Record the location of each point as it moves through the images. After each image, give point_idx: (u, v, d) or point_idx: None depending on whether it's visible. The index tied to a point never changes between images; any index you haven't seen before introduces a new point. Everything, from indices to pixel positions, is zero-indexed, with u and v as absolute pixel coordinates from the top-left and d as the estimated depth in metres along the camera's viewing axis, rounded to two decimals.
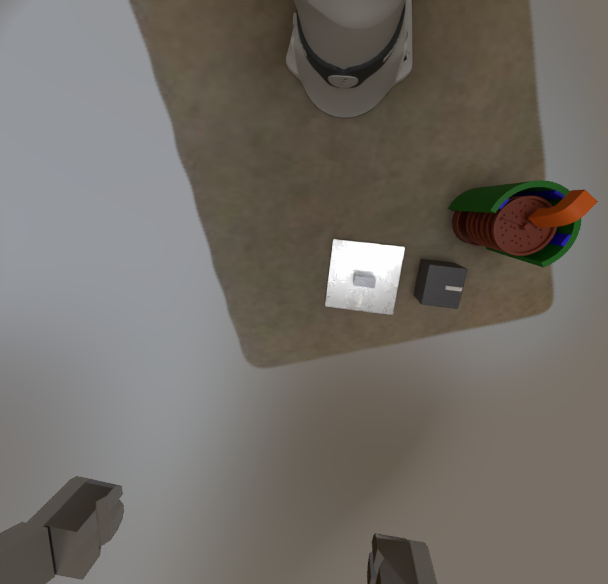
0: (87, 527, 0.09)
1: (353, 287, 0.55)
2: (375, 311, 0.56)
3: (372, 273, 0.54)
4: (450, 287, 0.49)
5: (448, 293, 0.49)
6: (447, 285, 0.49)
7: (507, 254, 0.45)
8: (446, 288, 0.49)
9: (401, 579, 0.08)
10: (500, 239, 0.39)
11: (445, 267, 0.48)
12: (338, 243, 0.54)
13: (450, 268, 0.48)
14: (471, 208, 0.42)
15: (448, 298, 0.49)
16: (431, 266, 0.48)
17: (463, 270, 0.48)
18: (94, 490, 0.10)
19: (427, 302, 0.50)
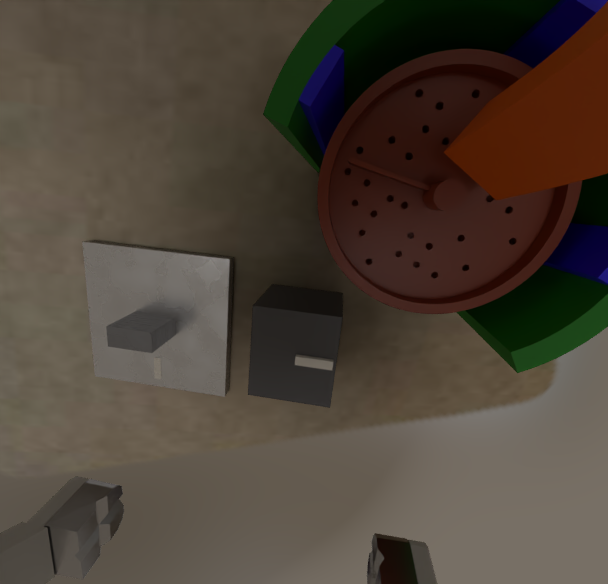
0: (87, 527, 0.09)
1: None
2: (191, 389, 0.27)
3: (172, 314, 0.26)
4: (305, 360, 0.20)
5: (304, 372, 0.20)
6: (299, 355, 0.20)
7: None
8: (296, 362, 0.20)
9: (401, 579, 0.08)
10: (358, 249, 0.10)
11: (290, 312, 0.20)
12: (94, 250, 0.25)
13: (302, 315, 0.19)
14: None
15: (306, 383, 0.21)
16: (257, 309, 0.20)
17: (333, 320, 0.19)
18: (94, 490, 0.10)
19: (259, 391, 0.21)
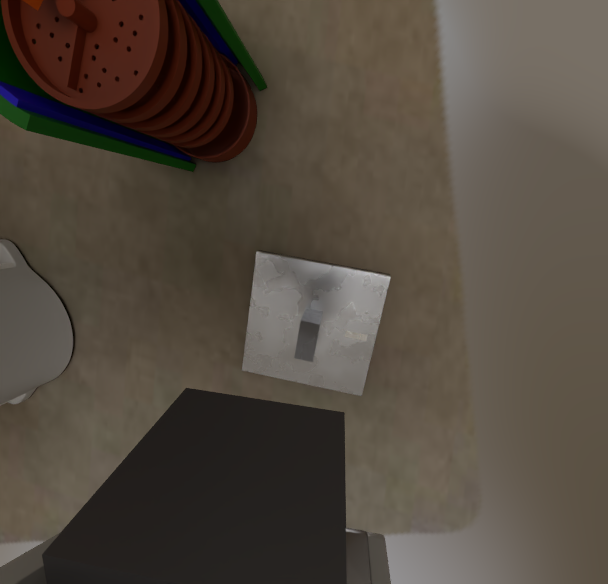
0: None
1: (328, 345, 0.30)
2: (380, 308, 0.28)
3: (303, 310, 0.29)
4: None
5: None
6: None
7: (237, 45, 0.19)
8: None
9: (354, 570, 0.08)
10: (131, 83, 0.14)
11: (167, 583, 0.06)
12: (248, 363, 0.31)
13: None
14: (118, 152, 0.19)
15: None
16: (59, 566, 0.06)
17: None
18: None
19: None
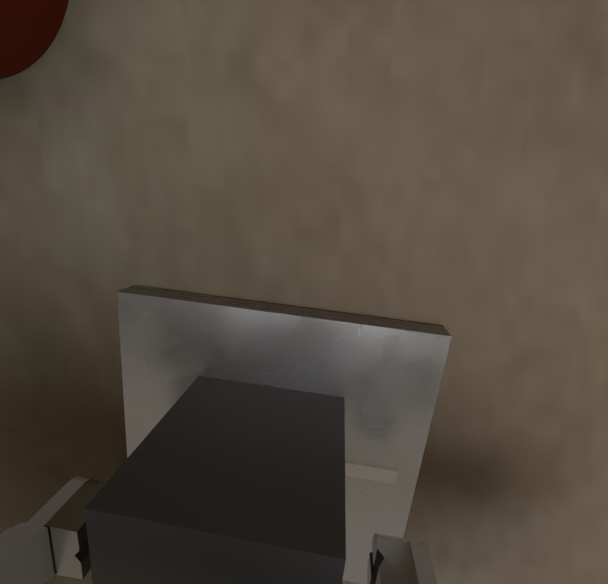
0: None
1: None
2: (427, 412, 0.11)
3: None
4: None
5: None
6: None
7: None
8: None
9: (401, 579, 0.08)
10: None
11: (192, 532, 0.07)
12: None
13: (225, 543, 0.07)
14: None
15: None
16: (98, 519, 0.07)
17: (318, 564, 0.06)
18: (94, 490, 0.10)
19: None
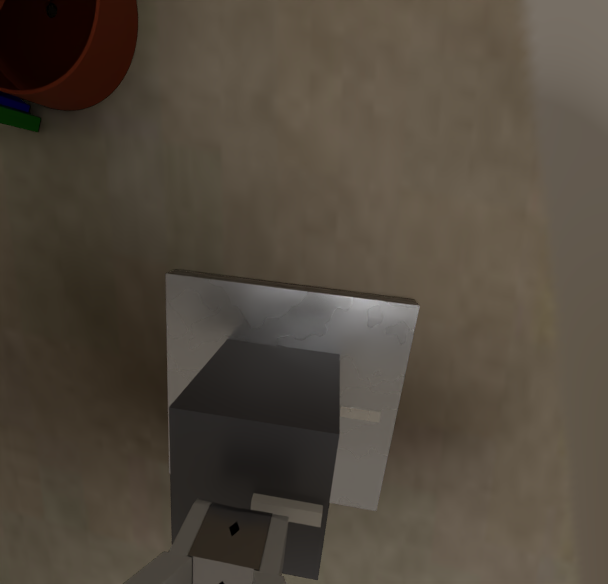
0: None
1: None
2: (402, 365, 0.15)
3: None
4: (270, 508, 0.11)
5: None
6: (259, 495, 0.11)
7: None
8: None
9: (247, 548, 0.08)
10: None
11: (240, 421, 0.10)
12: None
13: (262, 427, 0.10)
14: None
15: None
16: (178, 414, 0.10)
17: (322, 439, 0.10)
18: (222, 515, 0.09)
19: None
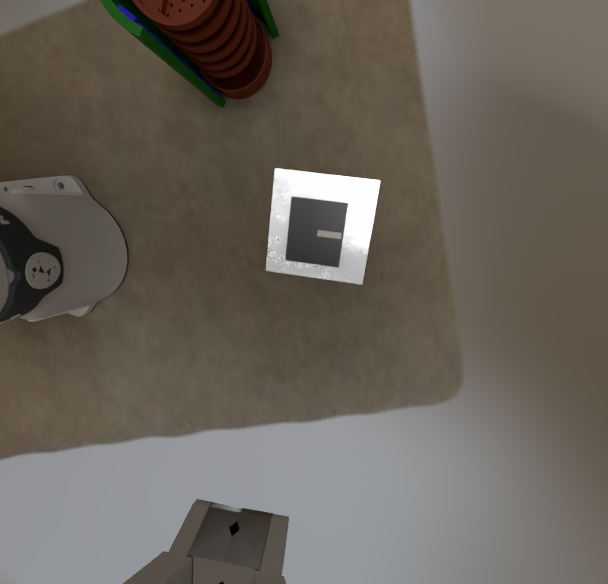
0: None
1: None
2: (373, 208, 0.36)
3: None
4: (324, 232, 0.31)
5: (323, 242, 0.32)
6: (320, 229, 0.31)
7: None
8: (318, 234, 0.31)
9: (248, 548, 0.08)
10: (200, 7, 0.22)
11: (315, 200, 0.31)
12: (271, 263, 0.39)
13: (322, 202, 0.31)
14: (180, 72, 0.27)
15: (323, 250, 0.32)
16: (294, 199, 0.31)
17: (342, 205, 0.31)
18: (222, 515, 0.09)
19: (293, 257, 0.33)
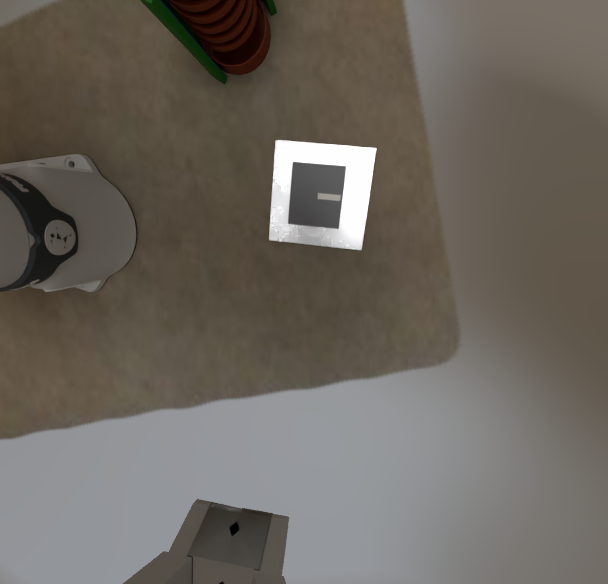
0: None
1: None
2: (370, 175, 0.38)
3: None
4: (324, 195, 0.33)
5: (323, 205, 0.34)
6: (320, 192, 0.33)
7: None
8: (318, 197, 0.33)
9: (248, 548, 0.08)
10: None
11: (315, 165, 0.33)
12: (274, 233, 0.41)
13: (322, 166, 0.33)
14: (186, 43, 0.29)
15: (324, 213, 0.34)
16: (295, 164, 0.33)
17: (340, 168, 0.33)
18: (222, 515, 0.09)
19: (295, 221, 0.34)
